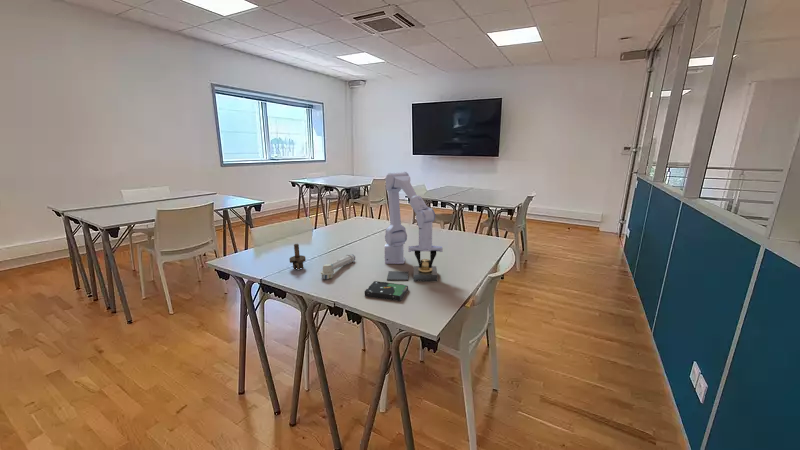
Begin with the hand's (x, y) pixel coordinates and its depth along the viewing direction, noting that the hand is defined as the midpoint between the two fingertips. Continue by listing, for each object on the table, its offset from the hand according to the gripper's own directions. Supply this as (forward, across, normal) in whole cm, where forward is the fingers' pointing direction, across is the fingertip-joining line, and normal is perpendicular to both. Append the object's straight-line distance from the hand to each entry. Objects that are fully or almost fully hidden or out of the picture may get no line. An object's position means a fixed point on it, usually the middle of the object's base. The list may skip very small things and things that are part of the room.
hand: (425, 267), depth 141 cm
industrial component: (+5, -60, +9) cm, 61 cm away
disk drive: (+5, -15, -16) cm, 23 cm away
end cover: (+4, 0, 0) cm, 4 cm away
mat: (+4, -12, 0) cm, 13 cm away
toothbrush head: (+5, -40, +7) cm, 41 cm away
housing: (+4, 0, 0) cm, 4 cm away
